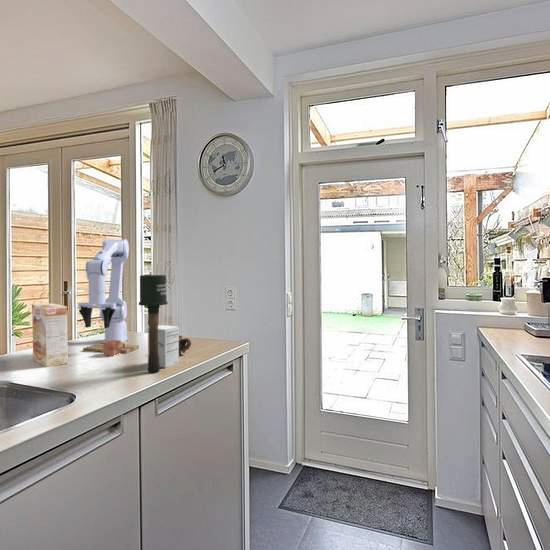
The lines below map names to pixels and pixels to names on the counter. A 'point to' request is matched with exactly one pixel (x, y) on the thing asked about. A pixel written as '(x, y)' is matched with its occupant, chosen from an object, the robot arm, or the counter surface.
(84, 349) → the board
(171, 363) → the supplement box
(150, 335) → the stick grenade
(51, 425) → the counter surface
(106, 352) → the brown block with stick
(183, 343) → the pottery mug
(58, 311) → the coffeecake box
